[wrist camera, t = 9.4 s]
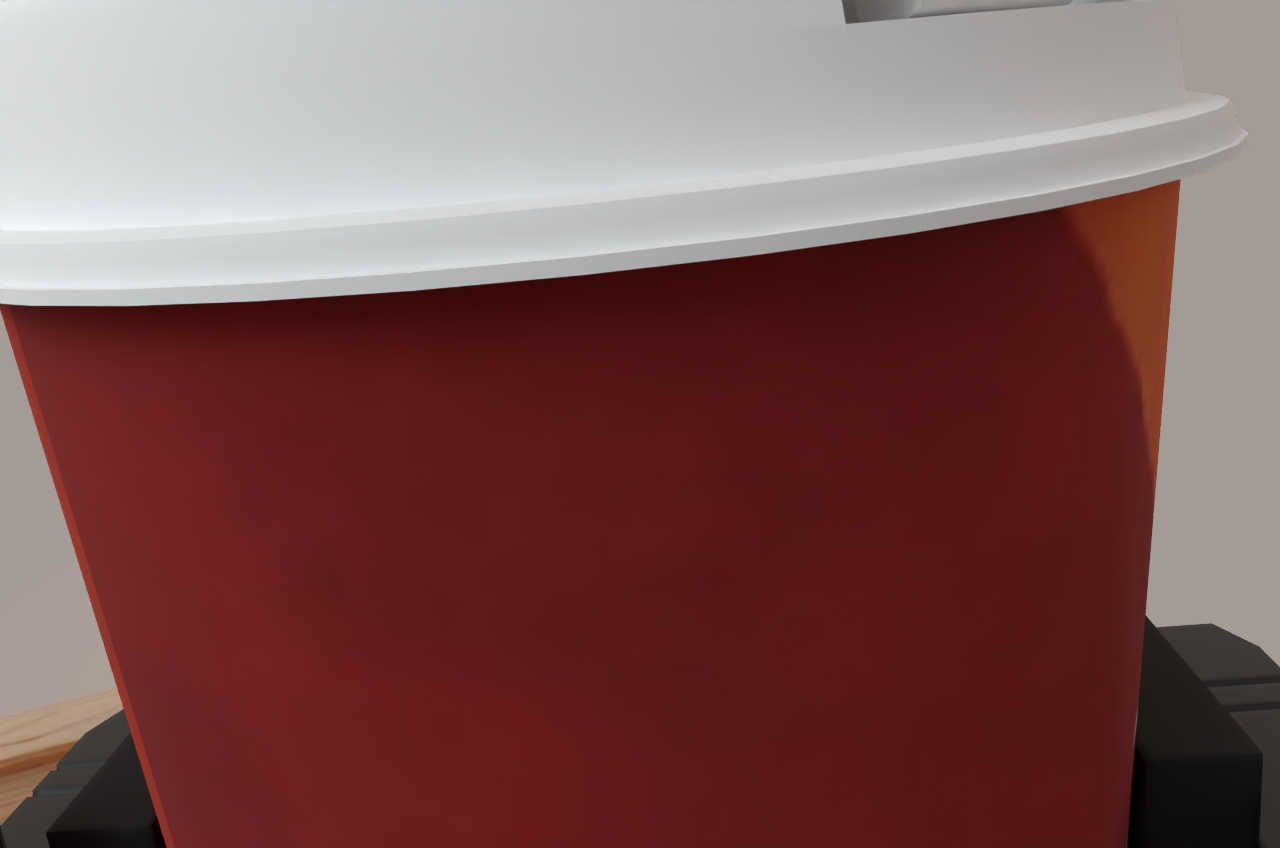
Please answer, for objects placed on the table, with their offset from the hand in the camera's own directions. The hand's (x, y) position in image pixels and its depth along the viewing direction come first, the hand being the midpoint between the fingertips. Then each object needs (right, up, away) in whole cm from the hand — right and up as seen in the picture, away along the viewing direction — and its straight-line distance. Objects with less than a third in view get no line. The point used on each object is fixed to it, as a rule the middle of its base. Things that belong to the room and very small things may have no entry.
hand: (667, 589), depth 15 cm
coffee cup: (+1, -9, -2) cm, 10 cm away
